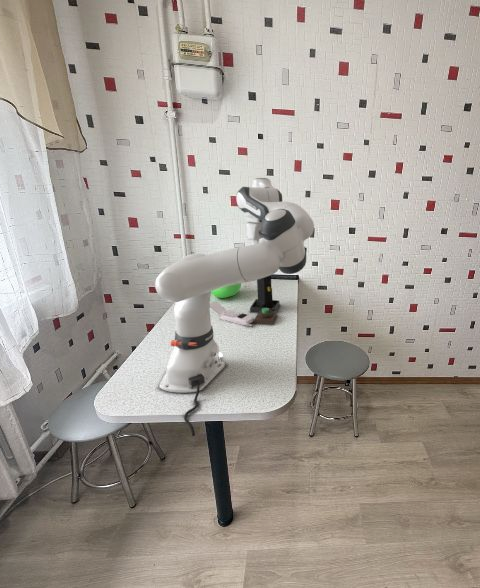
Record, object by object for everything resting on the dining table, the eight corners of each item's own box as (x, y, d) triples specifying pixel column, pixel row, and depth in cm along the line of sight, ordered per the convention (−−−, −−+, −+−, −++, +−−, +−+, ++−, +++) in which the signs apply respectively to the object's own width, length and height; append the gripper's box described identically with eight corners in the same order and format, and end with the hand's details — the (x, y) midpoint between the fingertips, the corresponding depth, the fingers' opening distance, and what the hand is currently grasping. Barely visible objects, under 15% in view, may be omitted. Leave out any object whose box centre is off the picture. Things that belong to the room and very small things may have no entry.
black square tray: (275, 313, 159) (275, 309, 158) (250, 312, 160) (250, 307, 159) (279, 305, 169) (279, 300, 168) (255, 303, 170) (255, 299, 169)
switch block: (271, 325, 149) (271, 317, 147) (254, 323, 149) (253, 315, 147) (276, 315, 158) (276, 307, 156) (259, 314, 158) (259, 306, 157)
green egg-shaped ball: (228, 304, 167) (226, 277, 161) (200, 299, 171) (197, 272, 166) (247, 292, 183) (246, 267, 177) (221, 288, 187) (219, 263, 182)
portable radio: (275, 308, 163) (274, 260, 154) (264, 311, 160) (262, 262, 150) (266, 303, 169) (265, 256, 160) (256, 306, 165) (254, 258, 156)
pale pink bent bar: (214, 300, 157) (258, 310, 148) (215, 311, 159) (258, 322, 150) (205, 304, 152) (249, 316, 142) (206, 316, 154) (250, 328, 145)
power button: (268, 314, 150) (268, 310, 150) (261, 313, 150) (261, 310, 150) (269, 311, 153) (269, 307, 153) (262, 310, 153) (262, 307, 153)
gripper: (268, 212, 158) (269, 241, 163) (243, 218, 140) (245, 250, 145) (280, 214, 156) (280, 242, 161) (256, 219, 138) (257, 252, 143)
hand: (263, 246), depth 153 cm, fingers open, 8 cm apart
